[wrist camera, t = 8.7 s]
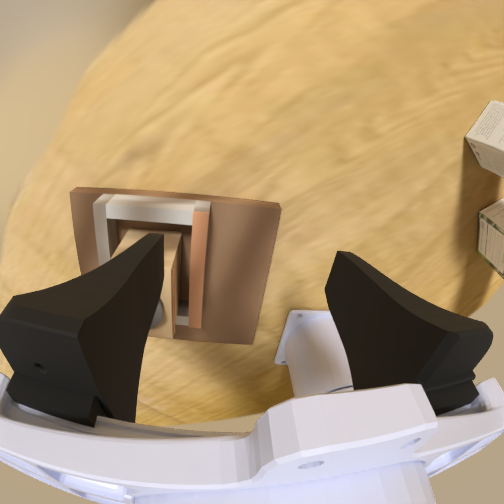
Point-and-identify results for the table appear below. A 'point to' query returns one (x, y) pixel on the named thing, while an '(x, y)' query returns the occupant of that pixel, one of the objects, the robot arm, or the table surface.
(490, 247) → the syrup box
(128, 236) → the knob block
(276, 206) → the board
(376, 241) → the table surface
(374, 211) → the table surface
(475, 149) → the skincare box
